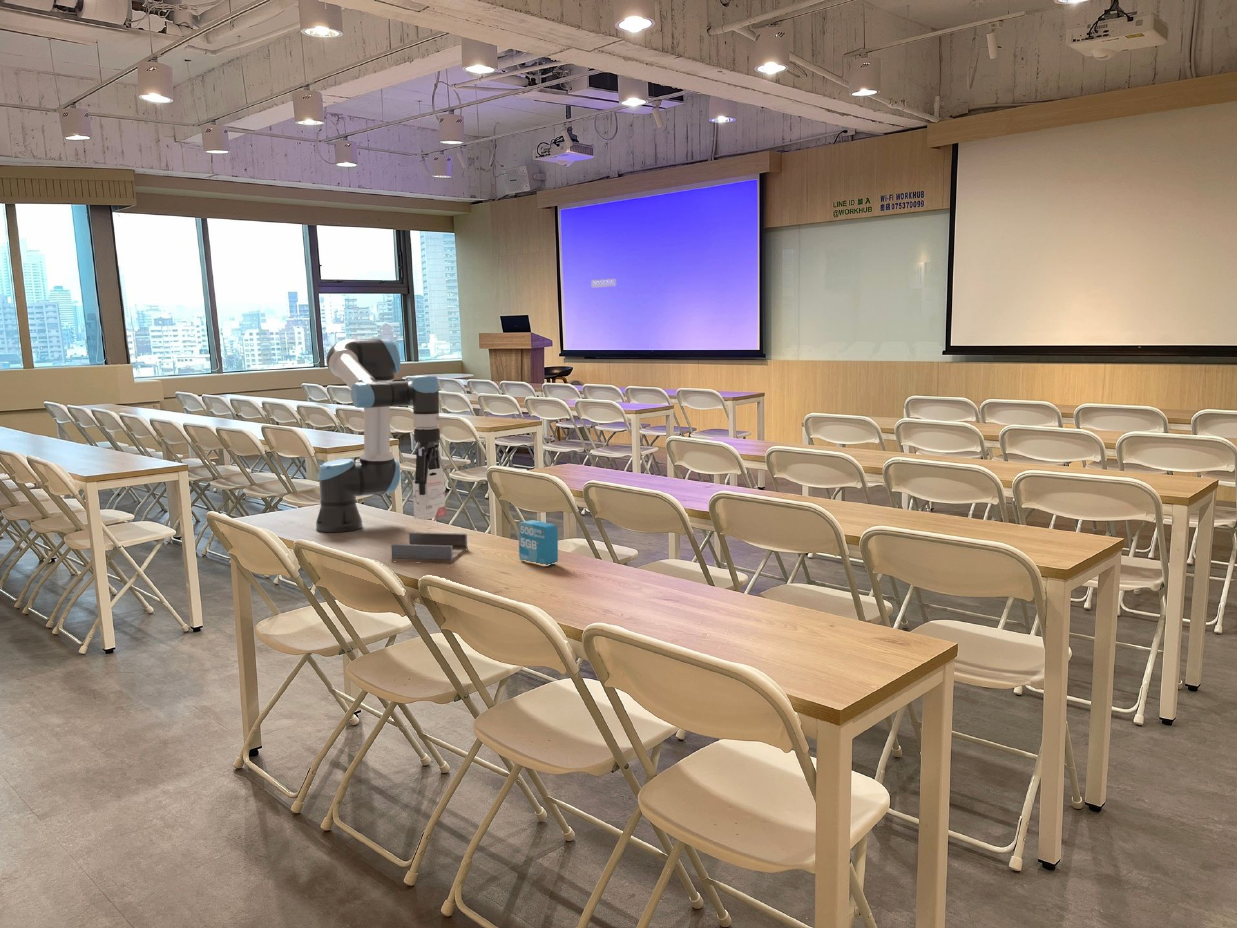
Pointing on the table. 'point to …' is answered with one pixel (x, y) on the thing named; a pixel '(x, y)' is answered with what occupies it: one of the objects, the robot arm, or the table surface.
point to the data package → (538, 542)
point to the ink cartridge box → (431, 497)
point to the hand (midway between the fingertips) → (429, 502)
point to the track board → (430, 548)
